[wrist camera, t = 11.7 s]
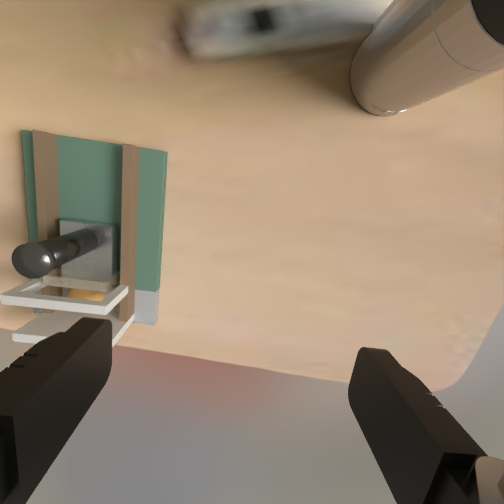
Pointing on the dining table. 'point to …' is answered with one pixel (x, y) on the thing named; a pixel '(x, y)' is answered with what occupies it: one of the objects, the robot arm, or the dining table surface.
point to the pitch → (95, 210)
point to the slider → (73, 257)
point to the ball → (86, 294)
